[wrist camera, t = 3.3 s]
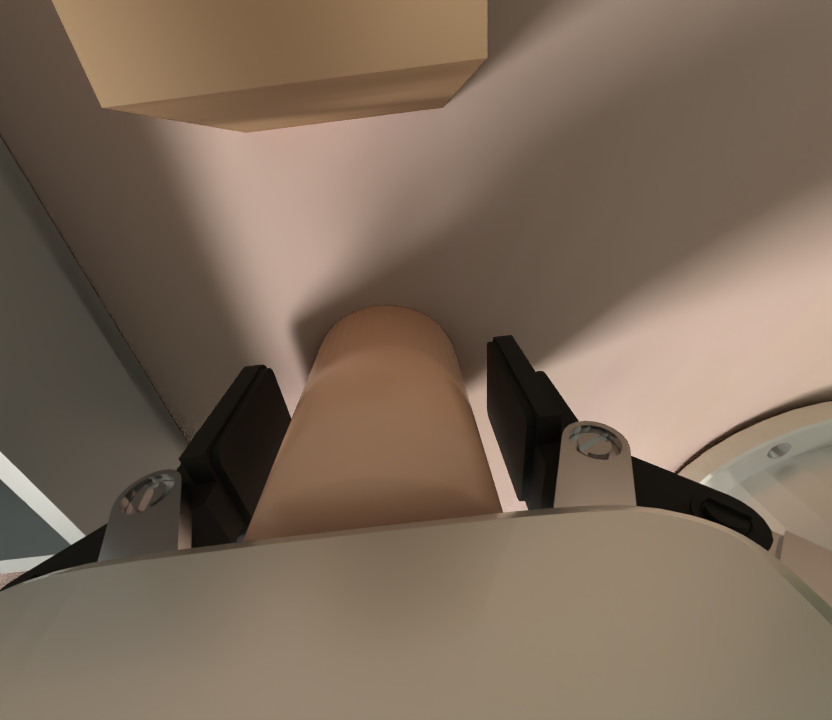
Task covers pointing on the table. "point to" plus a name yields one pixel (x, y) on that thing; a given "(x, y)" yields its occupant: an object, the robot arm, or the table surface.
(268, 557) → the robot arm
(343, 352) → the terracotta cylinder
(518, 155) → the table surface
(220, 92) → the walnut cube
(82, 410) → the grey tote
